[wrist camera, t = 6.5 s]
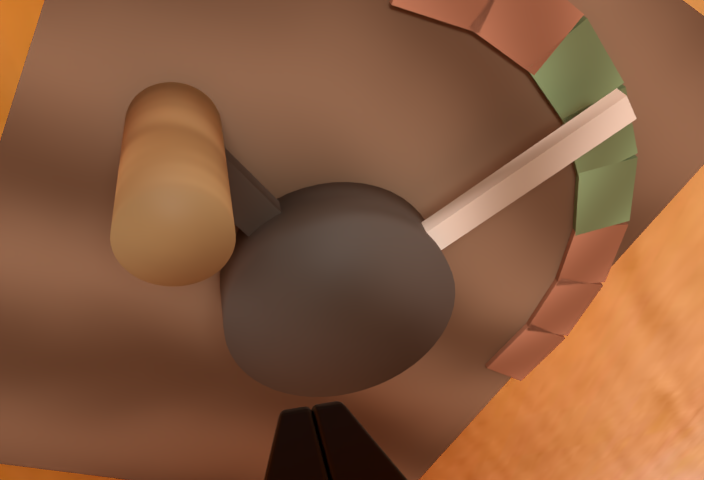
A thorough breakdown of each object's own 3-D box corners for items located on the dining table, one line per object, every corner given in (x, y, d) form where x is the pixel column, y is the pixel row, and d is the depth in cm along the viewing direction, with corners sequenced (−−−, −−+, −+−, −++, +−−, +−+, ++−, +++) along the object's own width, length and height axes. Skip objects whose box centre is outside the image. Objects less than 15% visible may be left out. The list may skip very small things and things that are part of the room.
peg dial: (309, 381, 24) (336, 505, 20) (39, 175, 17) (-1, 304, 13) (639, 164, 21) (746, 259, 17) (480, -189, 14) (597, -165, 10)
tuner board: (393, 495, 32) (399, 517, 31) (-89, 426, 23) (-100, 456, 22) (771, 71, 22) (798, 85, 21) (166, -377, 12) (166, -387, 11)
